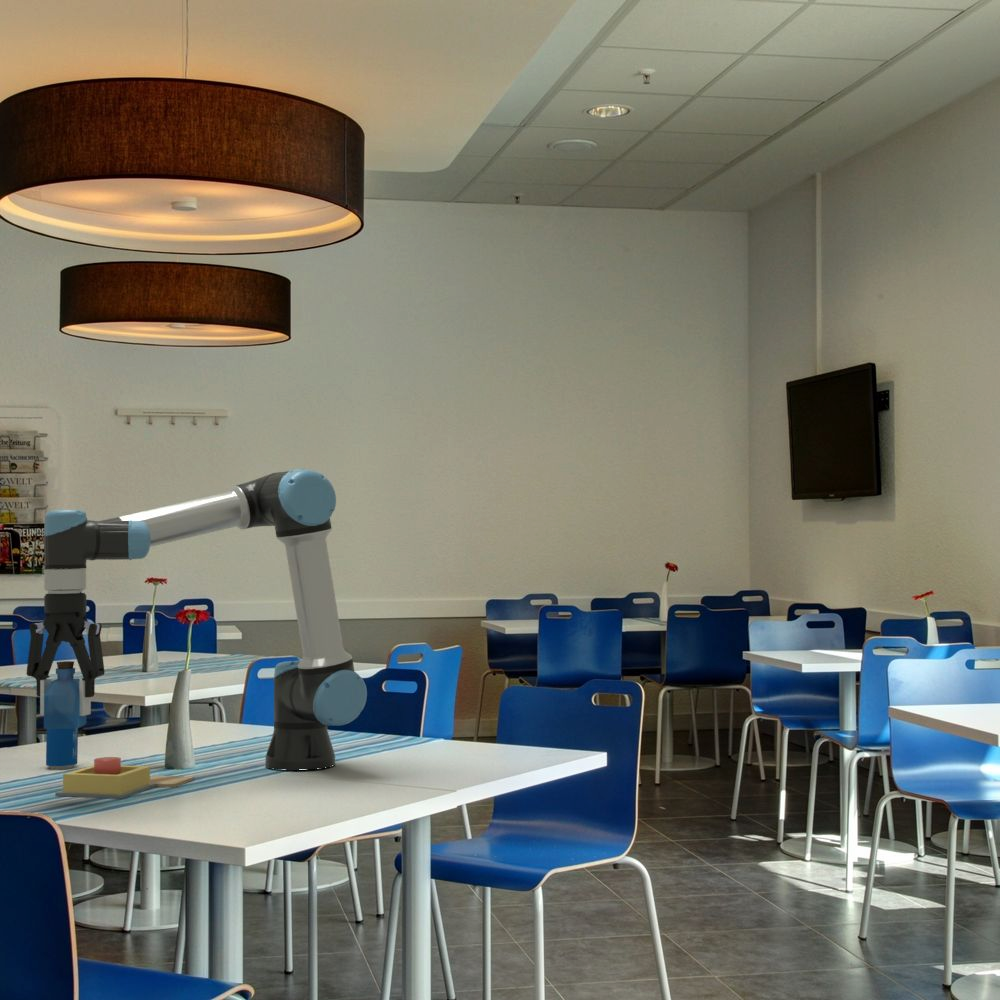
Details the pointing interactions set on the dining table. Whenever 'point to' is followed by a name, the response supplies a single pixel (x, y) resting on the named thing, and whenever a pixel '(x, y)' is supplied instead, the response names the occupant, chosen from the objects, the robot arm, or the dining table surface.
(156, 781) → the coaster
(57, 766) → the beverage can
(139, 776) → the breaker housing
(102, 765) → the red short rounded piece
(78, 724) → the perfume bottle
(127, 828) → the dining table surface
